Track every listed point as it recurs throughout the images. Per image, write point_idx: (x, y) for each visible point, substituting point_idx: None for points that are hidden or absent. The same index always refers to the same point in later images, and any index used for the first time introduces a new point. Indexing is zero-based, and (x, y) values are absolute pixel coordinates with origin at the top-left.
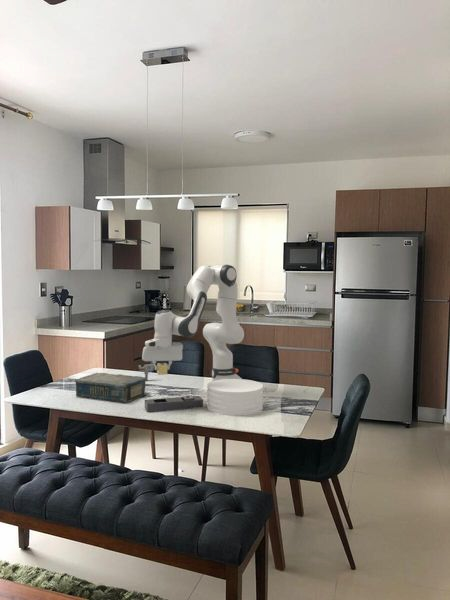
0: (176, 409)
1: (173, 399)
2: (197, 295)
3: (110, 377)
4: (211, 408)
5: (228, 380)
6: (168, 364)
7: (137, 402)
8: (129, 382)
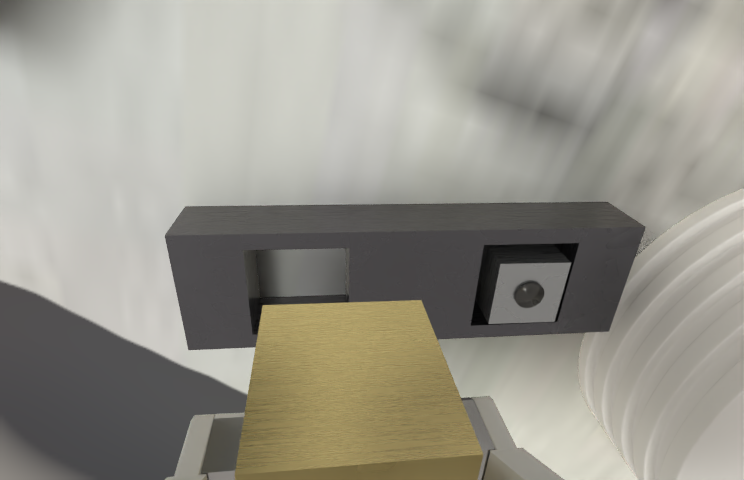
0: None
1: (411, 282)
2: None
3: None
4: (593, 368)
5: None
6: (513, 477)
7: (112, 11)
8: None
